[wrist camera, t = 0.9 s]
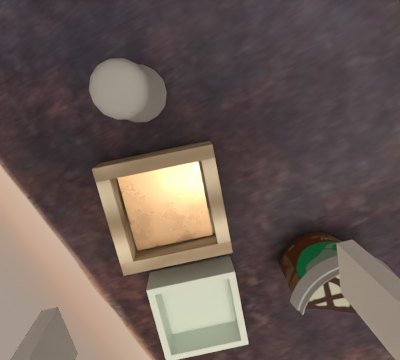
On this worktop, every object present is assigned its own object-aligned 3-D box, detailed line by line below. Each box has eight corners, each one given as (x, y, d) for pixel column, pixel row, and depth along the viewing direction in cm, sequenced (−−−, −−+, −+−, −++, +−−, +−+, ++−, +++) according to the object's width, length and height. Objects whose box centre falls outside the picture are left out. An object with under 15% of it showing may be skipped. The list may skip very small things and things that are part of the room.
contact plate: (117, 176, 34) (117, 177, 33) (197, 159, 34) (198, 160, 34) (138, 248, 36) (137, 250, 36) (212, 232, 36) (213, 234, 36)
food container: (366, 226, 39) (428, 267, 29) (355, 268, 40) (411, 320, 31) (276, 219, 38) (309, 259, 28) (268, 262, 39) (297, 314, 29)
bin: (149, 271, 38) (146, 290, 34) (229, 254, 38) (234, 271, 35) (167, 337, 41) (166, 361, 37) (242, 321, 41) (248, 344, 37)
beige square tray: (100, 162, 34) (91, 168, 31) (209, 140, 35) (212, 144, 31) (128, 260, 38) (123, 275, 34) (228, 239, 38) (232, 252, 34)
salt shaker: (166, 66, 32) (157, 42, 20) (169, 119, 34) (163, 128, 21) (112, 68, 32) (67, 45, 19) (117, 122, 33) (80, 132, 21)
